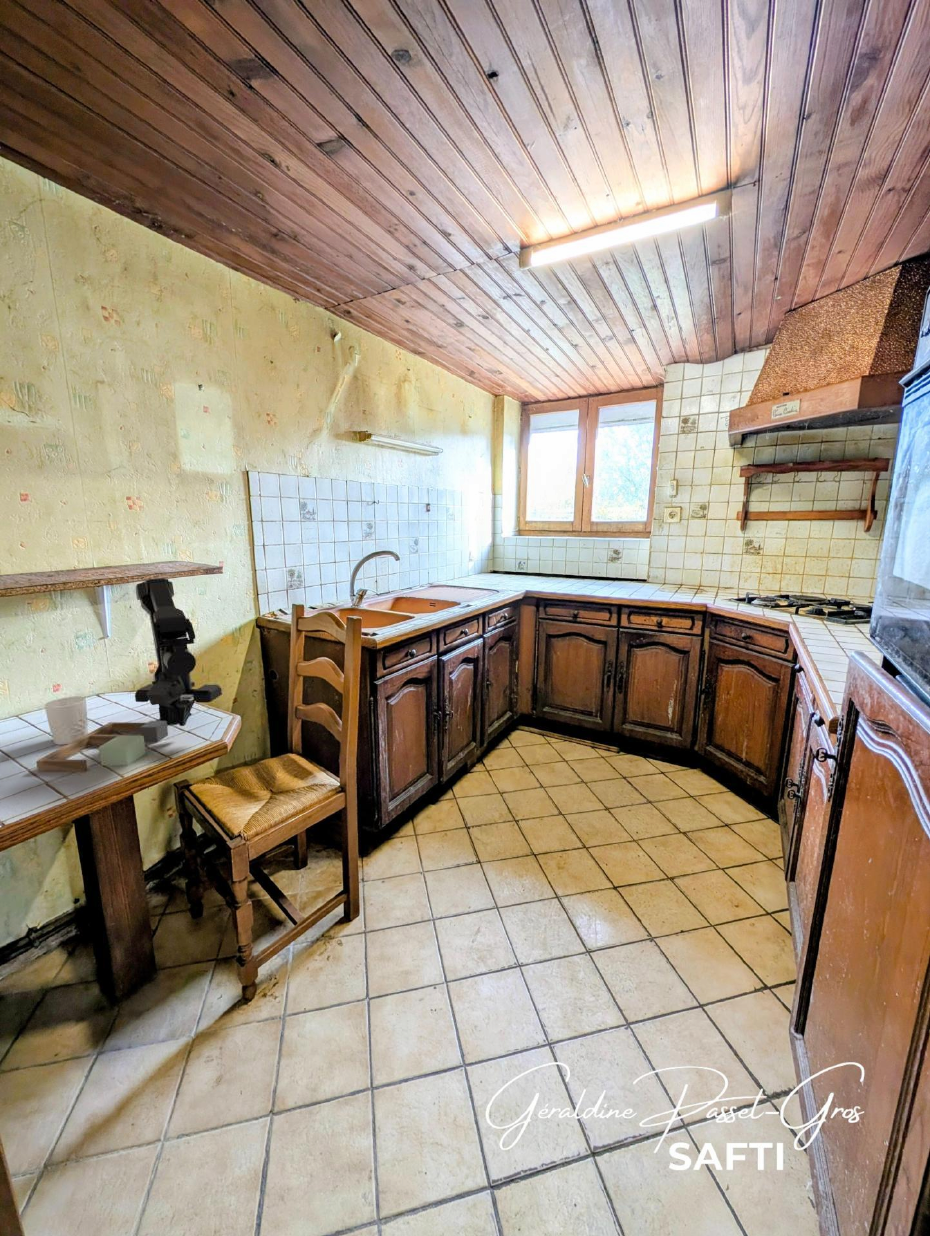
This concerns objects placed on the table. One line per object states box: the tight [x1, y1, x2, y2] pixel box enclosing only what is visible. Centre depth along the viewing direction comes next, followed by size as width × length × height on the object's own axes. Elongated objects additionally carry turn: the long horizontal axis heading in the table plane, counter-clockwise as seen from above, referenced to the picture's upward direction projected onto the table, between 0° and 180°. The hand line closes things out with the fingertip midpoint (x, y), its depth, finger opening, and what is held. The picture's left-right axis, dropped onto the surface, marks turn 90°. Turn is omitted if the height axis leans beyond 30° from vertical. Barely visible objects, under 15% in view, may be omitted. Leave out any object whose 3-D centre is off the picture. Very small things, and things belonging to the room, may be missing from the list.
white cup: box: [44, 695, 89, 746], centre depth 119 cm, size 8×8×10 cm
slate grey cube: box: [140, 720, 169, 743], centre depth 120 cm, size 4×4×4 cm
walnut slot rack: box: [35, 721, 148, 773], centre depth 114 cm, size 21×10×2 cm, turn 179°
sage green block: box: [98, 735, 147, 766], centre depth 109 cm, size 6×6×4 cm
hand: (182, 725), depth 119 cm, fingers closed
